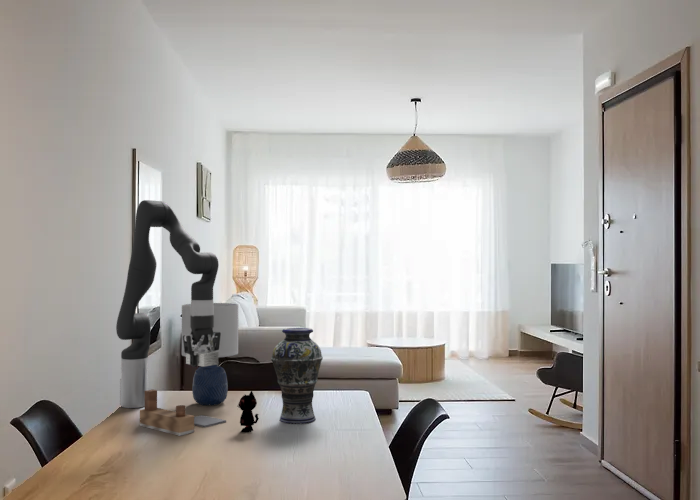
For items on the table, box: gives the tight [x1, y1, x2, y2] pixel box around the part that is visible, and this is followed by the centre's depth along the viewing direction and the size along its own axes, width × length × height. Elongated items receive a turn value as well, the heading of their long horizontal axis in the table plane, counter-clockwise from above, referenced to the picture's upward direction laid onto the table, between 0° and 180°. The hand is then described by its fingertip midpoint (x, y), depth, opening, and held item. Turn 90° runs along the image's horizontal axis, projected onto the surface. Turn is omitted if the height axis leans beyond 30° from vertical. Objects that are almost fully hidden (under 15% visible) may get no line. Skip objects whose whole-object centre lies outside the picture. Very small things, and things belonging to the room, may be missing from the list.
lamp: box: [181, 302, 239, 406], centre depth 255 cm, size 20×20×37 cm
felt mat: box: [194, 415, 227, 428], centre depth 227 cm, size 12×9×1 cm
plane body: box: [139, 389, 195, 437], centre depth 218 cm, size 20×6×11 cm, turn 52°
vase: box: [270, 326, 323, 425], centre depth 230 cm, size 17×17×30 cm
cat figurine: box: [236, 389, 260, 434], centre depth 215 cm, size 7×7×12 cm
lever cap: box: [185, 349, 220, 367], centre depth 227 cm, size 9×6×5 cm, turn 51°
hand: (202, 365), depth 227 cm, fingers closed on lever cap, 6 cm apart
